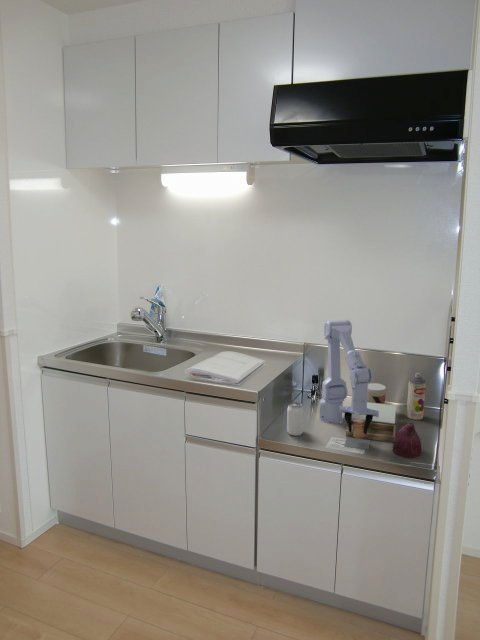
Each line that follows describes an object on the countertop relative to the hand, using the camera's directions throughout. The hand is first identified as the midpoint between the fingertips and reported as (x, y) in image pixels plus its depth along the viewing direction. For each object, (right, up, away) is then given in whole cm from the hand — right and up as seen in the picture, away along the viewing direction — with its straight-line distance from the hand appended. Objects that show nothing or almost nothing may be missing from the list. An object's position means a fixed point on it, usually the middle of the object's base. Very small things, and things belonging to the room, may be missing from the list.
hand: (357, 431), depth 190 cm
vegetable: (+17, -7, -5) cm, 19 cm away
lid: (+11, +4, +18) cm, 22 cm away
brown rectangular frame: (+9, -2, +13) cm, 16 cm away
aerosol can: (+30, 0, +24) cm, 39 cm away
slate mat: (0, -5, +1) cm, 5 cm away
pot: (+1, -2, +1) cm, 2 cm away
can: (-23, -3, +12) cm, 26 cm away
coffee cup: (+14, +2, +30) cm, 34 cm away
